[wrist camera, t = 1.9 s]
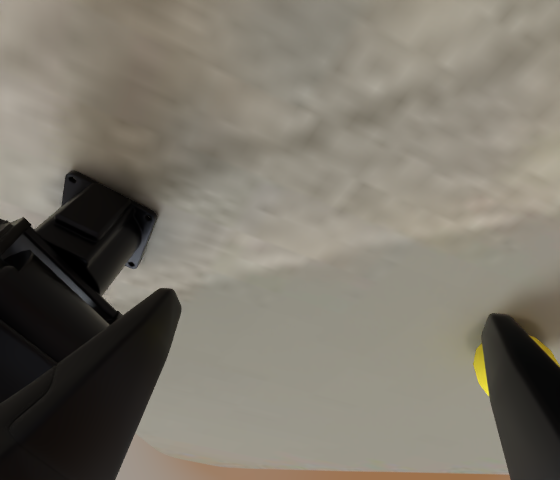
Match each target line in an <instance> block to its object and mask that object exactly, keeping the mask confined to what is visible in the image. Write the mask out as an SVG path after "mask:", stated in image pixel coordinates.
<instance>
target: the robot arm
mask: <svg viewBox="0 0 560 480" xmlns="http://www.w3.org/2000/svg"><path fill="white" fill-rule="evenodd" d="M73 177H74V178H75V179H76V180H75V179H74V178H73ZM148 216H150V217H151V218H150V217H148ZM156 220H157V214H156V213H155V212H154V211H153V210H151V209H149V208H147V207H145V206H143V205H141V204H139V203H137V202H135V201H133V200H131V199H129V198H127V197H125V196H123V195H121V194H119V193H118V192H116V191H114V190H112V189H110V188H108V187H106V186H104V185H102V184H100V183H98V182H96V181H94V180H92V179H90V178H88V177H86V176H84V175H83V174H81V173H79V172H76V171H71V172H69V173H68V174H66V177H65V184H64V191H63V198H62V206H61V208H59V209H58V210H57V211H56V212H55V213H54V214H52V215H51V216H50V217H49V218H48V219H46V220H45V221H44V222H43V223H42V224H40V225H39V226H38V227H37V228H36V229H35V230H34V229H33V228H32V227H31V224H30V223H29V222H28V221H27V220H26V219H25V218H24V217H23V218H21V219H18V220H16V221H14V222H11V223H10V222H8V221H7V220H6V221H5V220H2V219H0V480H115V479H116V477H117V474H118V472H119V469H120V467H121V465H122V463H123V460H124V458H125V455H126V453H127V451H128V448H129V446H130V444H131V441H132V439H133V436H134V434H135V432H136V430H137V427H138V425H139V423H140V420H141V418H142V416H143V413H144V411H145V408H146V406H147V404H148V401H149V399H150V397H151V394H152V392H153V390H154V387H155V385H156V383H157V380H158V378H159V375H160V373H161V371H162V368H163V366H164V364H165V361H166V359H167V356H168V353H169V350H170V347H171V344H172V341H173V337H174V334H175V331H176V328H177V324H178V321H179V318H180V314H181V304H180V302H179V300H178V298H177V295H176V293H175V291H174V290H173V289H169V288H160V289H158V290H157V291H155V292H154V293H153V294H151V295H150V296H149V297H147V298H146V299H145V300H143V301H142V302H140V303H139V304H138V305H136V306H135V307H134V308H132V309H131V310H130V311H128V312H127V313H126V314H124V315H122V314H121V313H120V312H119V311H116V310H115V309H114V308H113V307H112V306H111V305H110V304H109V303H108V302H107V301H106V300H105V299H104V298H103V297H102V295H103V294H104V293H105V291H106V290H107V289H108V287H109V286H110V285H111V283H112V282H113V281H114V279H115V278H116V277H117V275H118V274H119V273H120V271H121V270H122V269H123V267H124V266H127V267H129V268H132V269H135V268H137V267H138V265H139V264H140V261H141V259H142V256H143V254H144V251H145V249H146V246H147V243H148V241H149V238H150V236H151V233H152V231H153V228H154V225H155V223H156ZM482 347H483V354H484V362H485V369H486V376H487V384H488V391H489V397H490V402H491V406H492V410H493V414H494V418H495V421H496V425H497V429H498V433H499V437H500V440H501V444H502V448H503V452H504V456H505V459H506V463H507V467H508V471H509V475H510V479H511V480H560V367H559V366H558V365H557V364H556V363H555V362H554V361H553V360H552V359H551V358H550V357H549V356H548V355H547V354H546V352H545V351H544V350H543V349H542V348H541V347H540V346H539V345H538V344H537V343H536V342H535V341H534V340H533V339H532V338H531V337H530V336H529V335H528V334H527V333H526V332H525V331H524V330H523V329H522V328H521V327H520V326H519V325H518V324H517V323H516V321H515V320H514V319H513V318H512V317H510V316H509V315H506V314H495V313H492V314H490V315H489V316H488V319H487V321H486V324H485V327H484V329H483V332H482Z"/></svg>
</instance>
